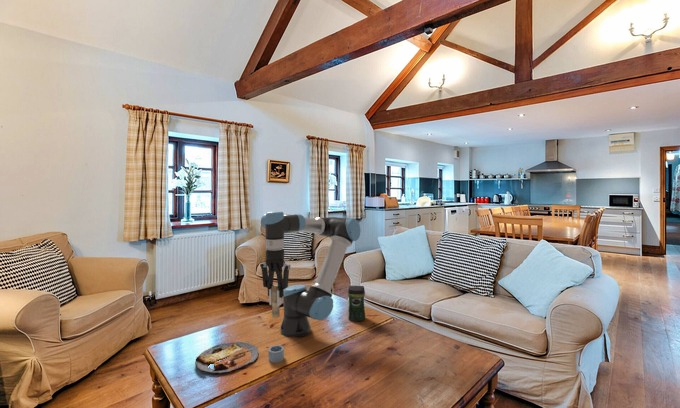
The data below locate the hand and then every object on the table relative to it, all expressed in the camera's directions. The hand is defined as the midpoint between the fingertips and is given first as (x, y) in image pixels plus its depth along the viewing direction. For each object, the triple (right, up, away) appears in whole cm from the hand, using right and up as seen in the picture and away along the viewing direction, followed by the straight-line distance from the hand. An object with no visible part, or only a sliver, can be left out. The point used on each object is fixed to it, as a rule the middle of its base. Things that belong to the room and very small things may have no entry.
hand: (275, 304), depth 131 cm
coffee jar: (+36, -22, +43) cm, 61 cm away
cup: (0, -24, +1) cm, 24 cm away
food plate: (-21, -25, +2) cm, 32 cm away
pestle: (0, -5, 0) cm, 5 cm away
